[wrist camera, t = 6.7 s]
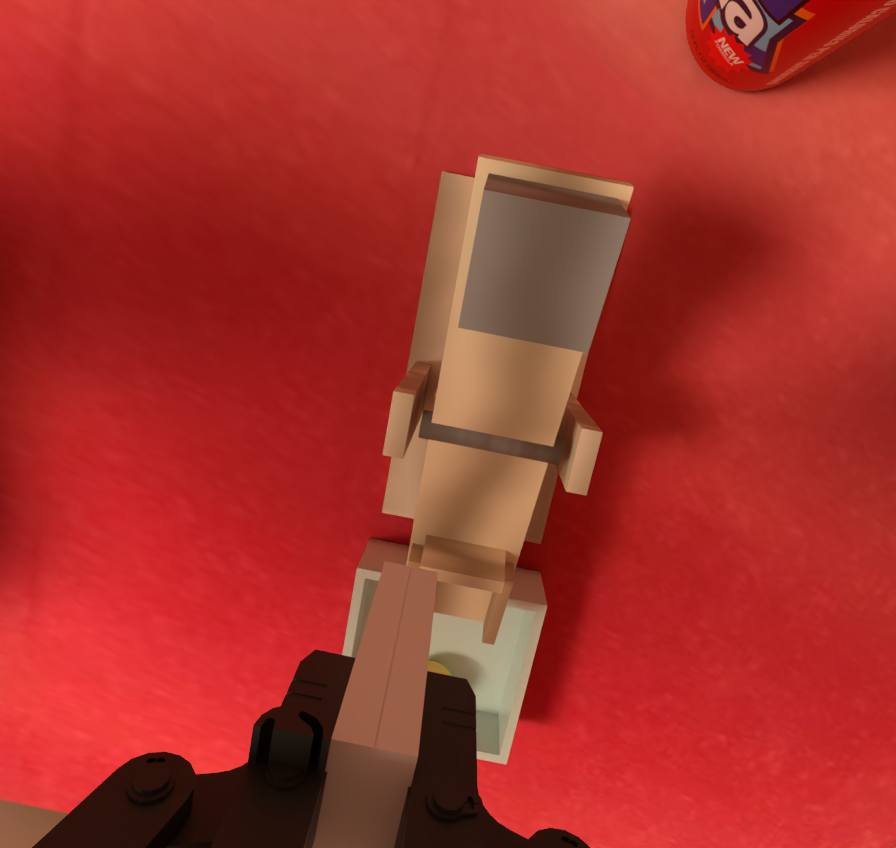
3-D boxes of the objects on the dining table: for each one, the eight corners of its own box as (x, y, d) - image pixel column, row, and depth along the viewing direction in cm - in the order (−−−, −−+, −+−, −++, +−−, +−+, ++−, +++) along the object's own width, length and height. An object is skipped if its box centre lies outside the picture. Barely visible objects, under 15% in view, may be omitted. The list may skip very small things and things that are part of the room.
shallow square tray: (344, 685, 45) (329, 729, 41) (369, 537, 42) (356, 567, 38) (503, 717, 45) (506, 764, 41) (540, 572, 42) (547, 605, 38)
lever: (394, 589, 37) (378, 653, 33) (468, 150, 24) (456, 167, 20) (506, 612, 37) (504, 679, 33) (641, 184, 24) (666, 208, 20)
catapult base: (383, 508, 42) (349, 589, 31) (442, 173, 36) (426, 128, 25) (539, 539, 42) (560, 631, 31) (621, 208, 36) (681, 178, 25)
